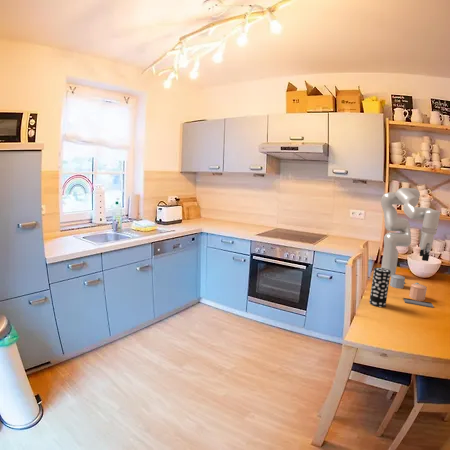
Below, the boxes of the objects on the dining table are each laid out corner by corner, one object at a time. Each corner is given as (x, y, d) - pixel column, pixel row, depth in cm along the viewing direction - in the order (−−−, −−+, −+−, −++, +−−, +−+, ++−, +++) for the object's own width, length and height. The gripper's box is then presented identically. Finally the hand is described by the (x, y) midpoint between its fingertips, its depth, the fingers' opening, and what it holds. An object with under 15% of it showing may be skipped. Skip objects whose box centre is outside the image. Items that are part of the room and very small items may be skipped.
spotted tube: (382, 301, 184) (387, 268, 181) (388, 307, 176) (393, 272, 173) (367, 300, 185) (371, 266, 182) (372, 306, 177) (377, 271, 174)
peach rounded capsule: (410, 299, 187) (412, 286, 186) (408, 295, 194) (410, 282, 193) (425, 302, 185) (427, 289, 183) (423, 297, 191) (425, 285, 190)
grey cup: (390, 289, 205) (392, 277, 204) (389, 285, 212) (390, 273, 211) (403, 291, 202) (405, 279, 201) (402, 287, 209) (404, 275, 208)
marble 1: (400, 285, 212) (399, 280, 214) (400, 286, 215) (399, 281, 216) (405, 284, 211) (404, 280, 213) (405, 285, 214) (404, 281, 215)
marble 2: (414, 287, 210) (414, 282, 211) (413, 287, 213) (413, 282, 213) (420, 287, 209) (419, 282, 210) (419, 287, 212) (418, 282, 212)
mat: (405, 302, 185) (405, 301, 184) (401, 293, 199) (401, 292, 199) (433, 307, 180) (433, 306, 179) (427, 297, 194) (427, 296, 194)
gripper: (419, 227, 200) (414, 253, 203) (424, 232, 184) (418, 261, 188) (433, 228, 197) (428, 255, 201) (439, 234, 181) (433, 263, 185)
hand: (423, 258), depth 194 cm, fingers open, 9 cm apart
